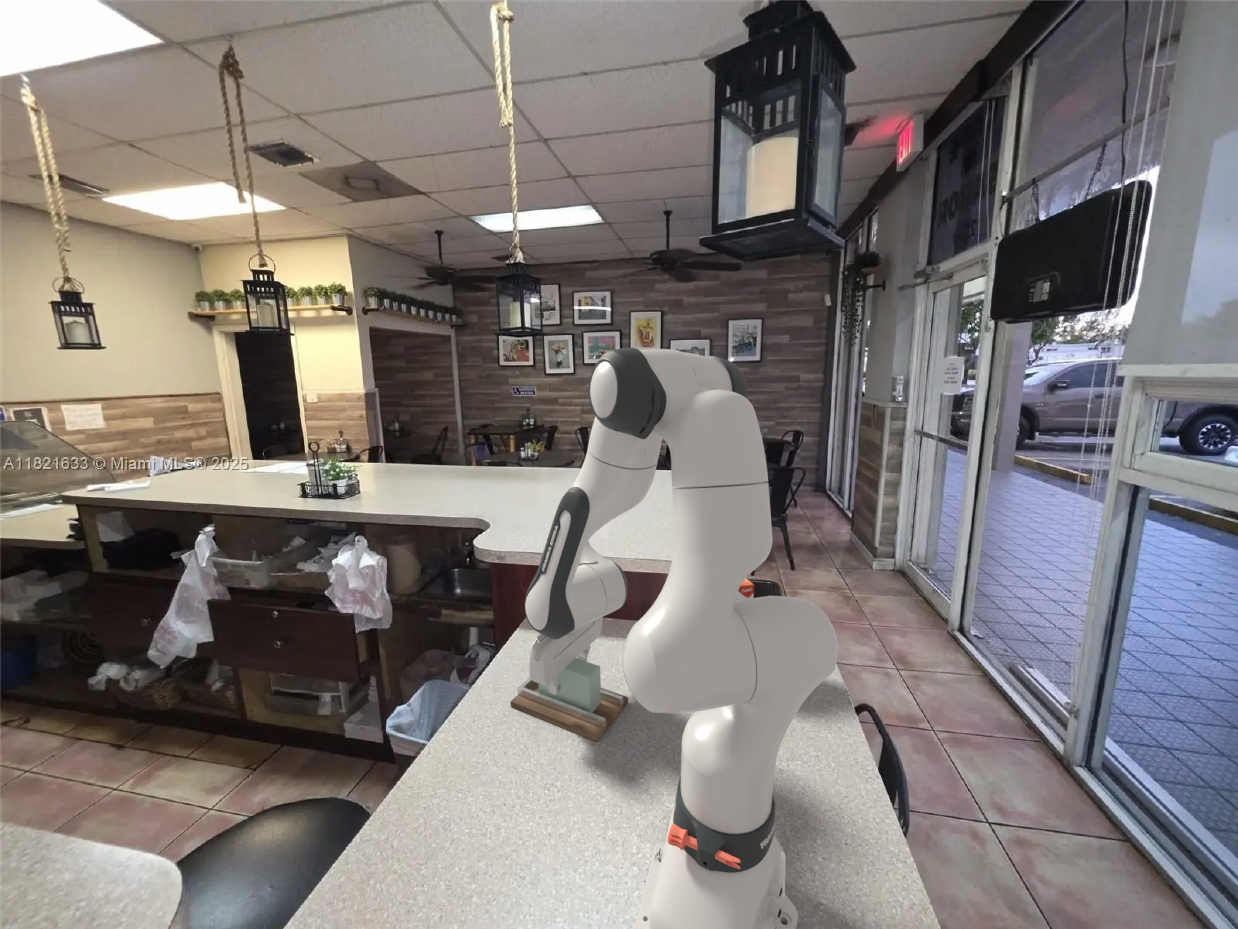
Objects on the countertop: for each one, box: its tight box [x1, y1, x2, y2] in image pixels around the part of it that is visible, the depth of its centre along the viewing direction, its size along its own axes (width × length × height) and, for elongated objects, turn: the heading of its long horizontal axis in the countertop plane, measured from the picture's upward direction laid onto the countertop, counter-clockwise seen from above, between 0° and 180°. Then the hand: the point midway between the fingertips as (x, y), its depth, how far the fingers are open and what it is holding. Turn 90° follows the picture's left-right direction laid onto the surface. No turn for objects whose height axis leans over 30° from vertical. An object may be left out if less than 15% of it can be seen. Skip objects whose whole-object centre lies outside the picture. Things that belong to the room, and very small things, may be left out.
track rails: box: [517, 677, 623, 728], centre depth 98 cm, size 8×20×2 cm, turn 62°
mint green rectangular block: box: [539, 657, 602, 713], centre depth 97 cm, size 4×12×8 cm, turn 62°
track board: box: [510, 683, 629, 742], centre depth 98 cm, size 12×20×1 cm, turn 62°
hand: (568, 678), depth 97 cm, fingers open, 8 cm apart
